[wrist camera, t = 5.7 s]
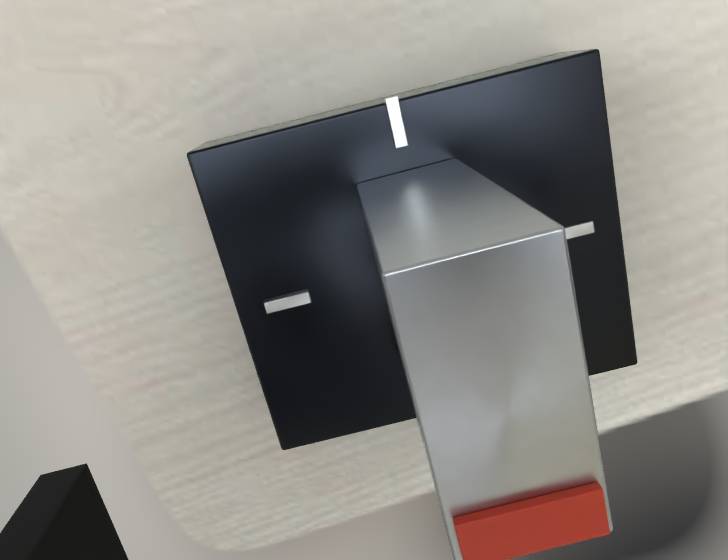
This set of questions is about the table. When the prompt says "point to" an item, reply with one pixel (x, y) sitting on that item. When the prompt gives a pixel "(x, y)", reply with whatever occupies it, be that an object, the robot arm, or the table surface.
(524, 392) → the knob
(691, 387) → the table surface
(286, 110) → the table surface
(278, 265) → the panel
